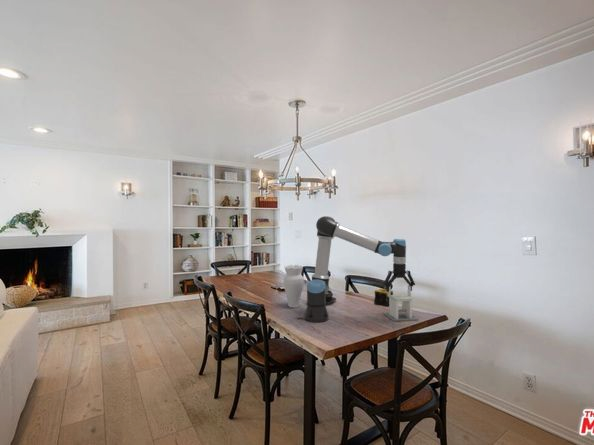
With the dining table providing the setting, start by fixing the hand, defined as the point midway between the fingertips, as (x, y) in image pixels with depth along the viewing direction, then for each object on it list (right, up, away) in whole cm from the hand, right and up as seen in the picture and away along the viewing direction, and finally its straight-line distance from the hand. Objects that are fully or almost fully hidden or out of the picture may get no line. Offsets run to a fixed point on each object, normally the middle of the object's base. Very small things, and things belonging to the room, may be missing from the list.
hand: (399, 296), depth 190 cm
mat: (0, -13, 0) cm, 13 cm away
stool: (+1, -6, -6) cm, 9 cm away
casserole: (-46, -13, +34) cm, 59 cm away
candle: (-1, -13, +29) cm, 32 cm away
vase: (-67, -14, +25) cm, 73 cm away
